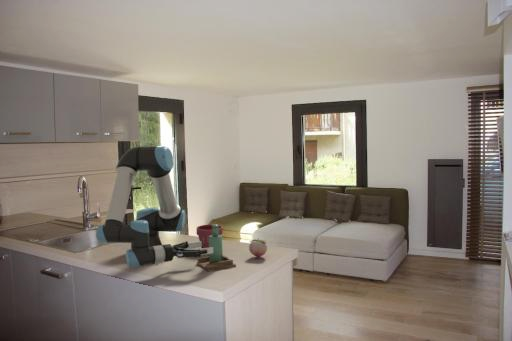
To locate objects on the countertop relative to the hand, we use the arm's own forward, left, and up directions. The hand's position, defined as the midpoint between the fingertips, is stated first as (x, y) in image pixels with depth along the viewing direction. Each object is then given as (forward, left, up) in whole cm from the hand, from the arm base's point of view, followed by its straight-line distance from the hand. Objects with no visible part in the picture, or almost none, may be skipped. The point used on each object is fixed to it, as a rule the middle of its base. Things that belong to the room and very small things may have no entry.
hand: (207, 246), depth 190 cm
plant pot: (-28, +14, -10) cm, 33 cm away
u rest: (0, +5, -10) cm, 11 cm away
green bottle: (0, +5, -9) cm, 10 cm away
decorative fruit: (-1, +29, -10) cm, 30 cm away
